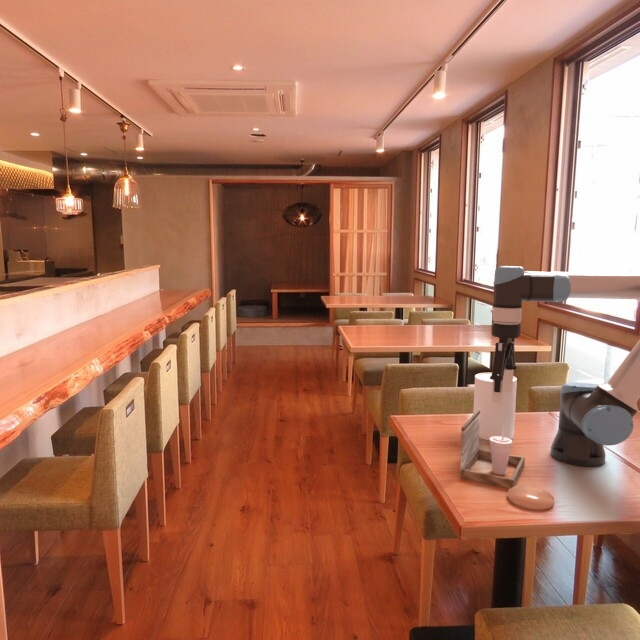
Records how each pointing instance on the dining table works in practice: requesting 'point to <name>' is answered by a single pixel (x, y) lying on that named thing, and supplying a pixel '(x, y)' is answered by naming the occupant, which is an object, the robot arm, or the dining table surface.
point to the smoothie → (500, 452)
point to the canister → (494, 408)
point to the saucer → (530, 498)
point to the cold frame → (473, 453)
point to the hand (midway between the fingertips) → (502, 397)
